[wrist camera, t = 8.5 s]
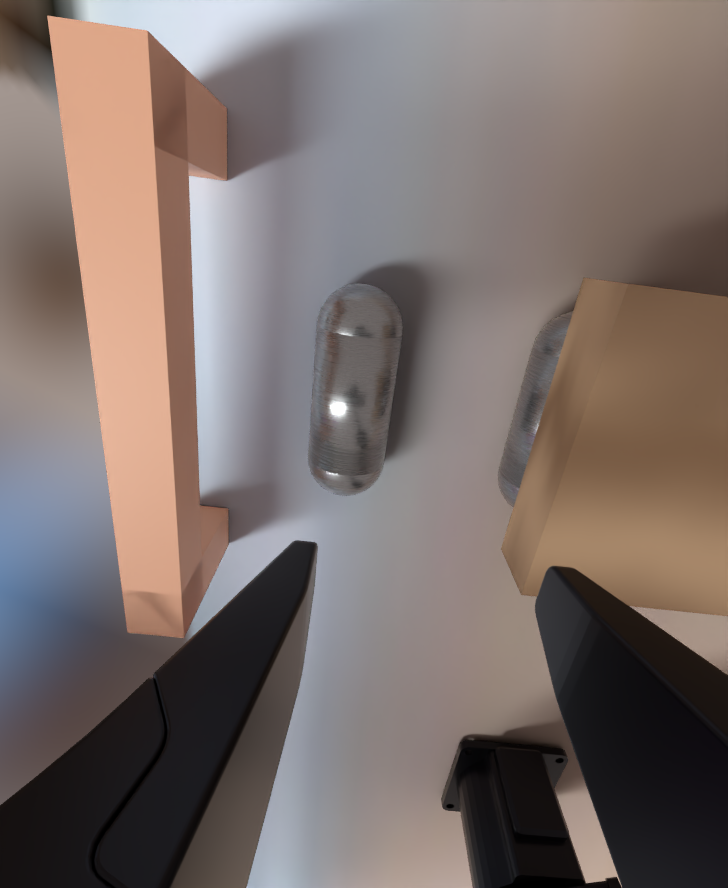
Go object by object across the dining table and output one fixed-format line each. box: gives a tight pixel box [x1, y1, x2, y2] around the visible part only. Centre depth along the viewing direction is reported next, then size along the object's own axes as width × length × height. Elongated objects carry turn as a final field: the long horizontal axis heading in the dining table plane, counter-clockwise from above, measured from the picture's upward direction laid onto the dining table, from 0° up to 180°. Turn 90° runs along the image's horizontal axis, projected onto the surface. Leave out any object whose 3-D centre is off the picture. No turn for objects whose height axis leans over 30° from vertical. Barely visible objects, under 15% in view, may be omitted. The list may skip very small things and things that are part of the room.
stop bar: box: [47, 16, 229, 638], centre depth 15 cm, size 17×2×6 cm, turn 173°
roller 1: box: [308, 283, 403, 496], centre depth 16 cm, size 8×3×3 cm, turn 174°
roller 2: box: [498, 311, 573, 507], centre depth 17 cm, size 8×3×3 cm
